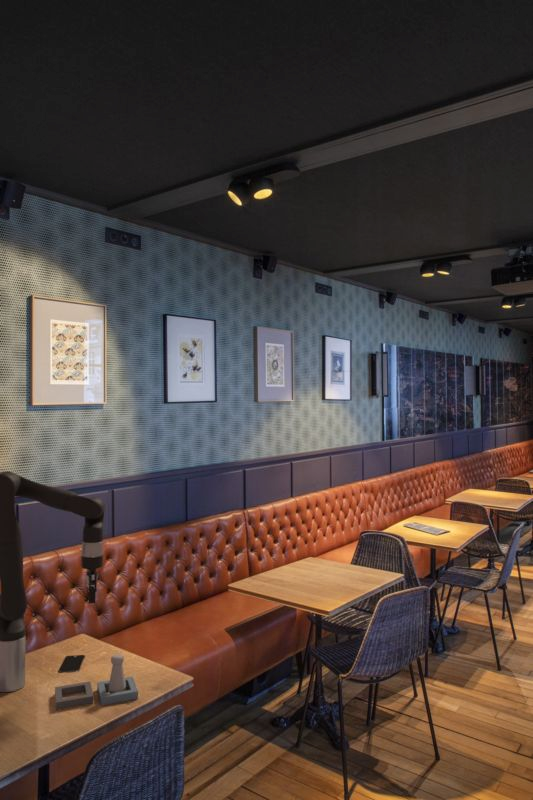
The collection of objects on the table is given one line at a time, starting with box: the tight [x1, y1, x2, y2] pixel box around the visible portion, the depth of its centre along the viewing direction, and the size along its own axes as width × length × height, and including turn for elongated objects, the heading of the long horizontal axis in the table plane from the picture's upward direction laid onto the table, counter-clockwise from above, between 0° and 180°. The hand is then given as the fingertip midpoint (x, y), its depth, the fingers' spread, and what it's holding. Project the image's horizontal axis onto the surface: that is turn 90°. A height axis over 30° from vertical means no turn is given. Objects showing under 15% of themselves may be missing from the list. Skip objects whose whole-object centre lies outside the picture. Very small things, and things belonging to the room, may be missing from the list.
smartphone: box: [57, 654, 86, 674], centre depth 223 cm, size 8×1×15 cm
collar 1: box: [54, 681, 94, 711], centre depth 195 cm, size 12×12×2 cm
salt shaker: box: [108, 653, 127, 694], centre depth 198 cm, size 6×6×13 cm
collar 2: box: [96, 676, 139, 706], centre depth 198 cm, size 12×12×2 cm
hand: (91, 599), depth 208 cm, fingers open, 8 cm apart
